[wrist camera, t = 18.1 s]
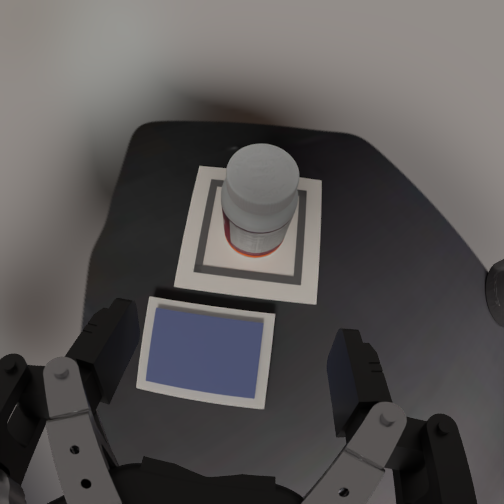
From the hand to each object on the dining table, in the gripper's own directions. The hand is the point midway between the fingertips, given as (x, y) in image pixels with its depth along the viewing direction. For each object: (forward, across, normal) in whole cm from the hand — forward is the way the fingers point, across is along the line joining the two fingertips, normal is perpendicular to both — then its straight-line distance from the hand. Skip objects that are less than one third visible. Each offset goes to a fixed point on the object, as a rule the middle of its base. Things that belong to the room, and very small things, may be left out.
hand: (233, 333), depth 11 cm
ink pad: (+11, +3, +13) cm, 18 cm away
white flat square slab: (+20, 0, +4) cm, 21 cm away
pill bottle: (+20, 0, +4) cm, 21 cm away
